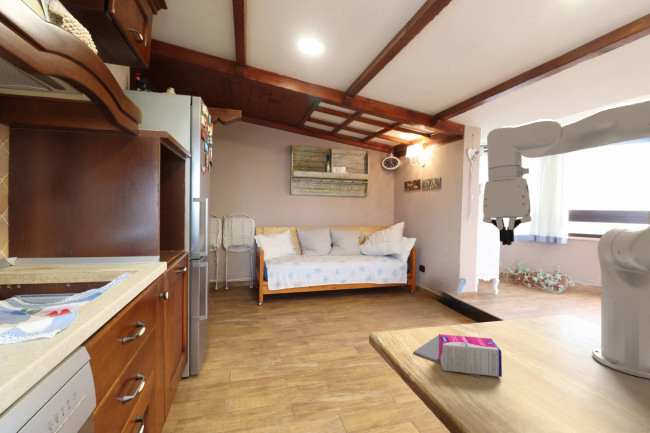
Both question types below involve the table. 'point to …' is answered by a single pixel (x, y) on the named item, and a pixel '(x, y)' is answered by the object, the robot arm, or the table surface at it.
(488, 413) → the table surface
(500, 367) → the supplement box
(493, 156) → the robot arm
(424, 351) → the mat
